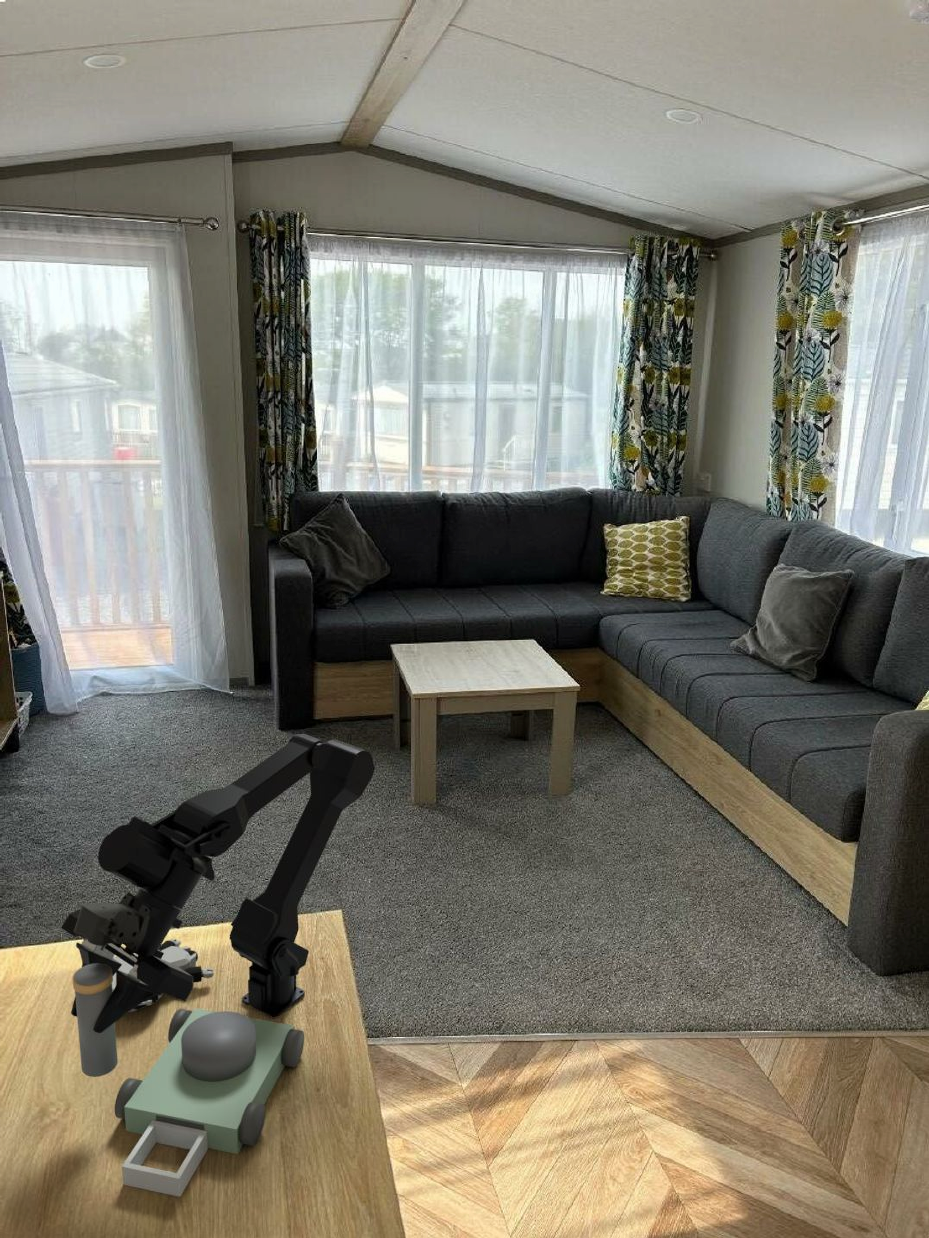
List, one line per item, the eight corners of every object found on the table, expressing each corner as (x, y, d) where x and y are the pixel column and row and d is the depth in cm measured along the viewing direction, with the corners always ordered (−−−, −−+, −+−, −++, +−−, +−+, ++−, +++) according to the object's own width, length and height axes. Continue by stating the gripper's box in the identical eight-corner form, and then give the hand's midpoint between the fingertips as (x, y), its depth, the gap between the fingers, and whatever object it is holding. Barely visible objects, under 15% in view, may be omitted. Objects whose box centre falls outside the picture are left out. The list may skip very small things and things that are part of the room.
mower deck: (185, 1027, 134) (183, 986, 132) (305, 1049, 131) (304, 1008, 129) (81, 1175, 110) (77, 1127, 108) (223, 1206, 107) (221, 1158, 105)
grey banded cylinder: (102, 1046, 120) (95, 958, 116) (126, 1060, 118) (120, 970, 114) (72, 1068, 116) (64, 977, 113) (97, 1082, 114) (89, 990, 111)
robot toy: (175, 953, 151) (79, 989, 140) (176, 926, 150) (79, 960, 139) (218, 992, 143) (120, 1033, 132) (219, 964, 142) (120, 1003, 131)
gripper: (69, 849, 119) (-11, 972, 113) (167, 906, 108) (84, 1045, 103) (130, 880, 127) (58, 996, 122) (226, 936, 116) (152, 1065, 111)
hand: (85, 1023), depth 114 cm, fingers closed on grey banded cylinder, 4 cm apart
